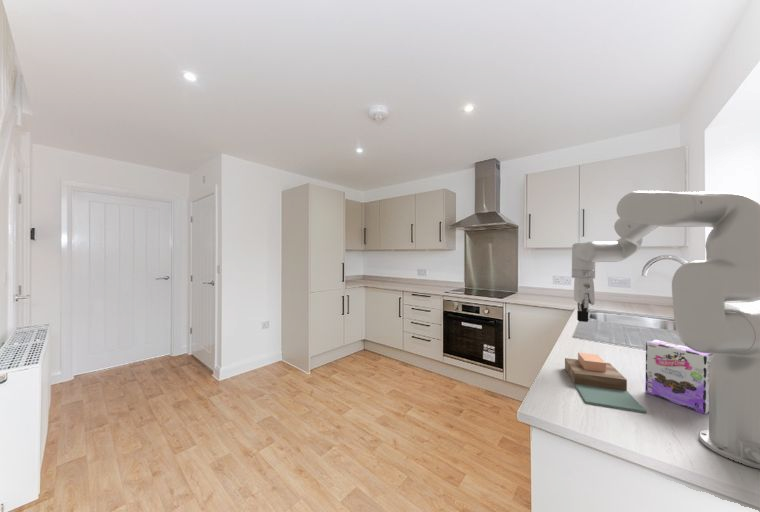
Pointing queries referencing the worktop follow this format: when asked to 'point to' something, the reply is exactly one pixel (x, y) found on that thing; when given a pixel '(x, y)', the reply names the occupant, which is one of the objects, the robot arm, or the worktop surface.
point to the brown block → (595, 376)
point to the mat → (609, 398)
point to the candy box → (678, 374)
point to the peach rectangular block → (591, 362)
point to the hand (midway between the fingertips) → (582, 321)
